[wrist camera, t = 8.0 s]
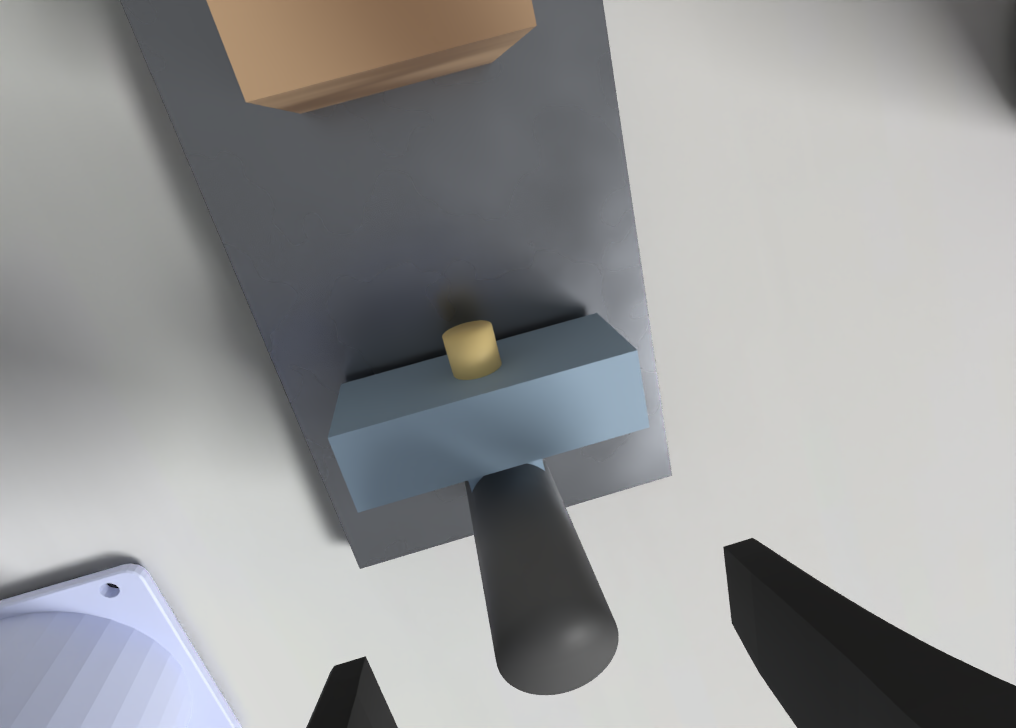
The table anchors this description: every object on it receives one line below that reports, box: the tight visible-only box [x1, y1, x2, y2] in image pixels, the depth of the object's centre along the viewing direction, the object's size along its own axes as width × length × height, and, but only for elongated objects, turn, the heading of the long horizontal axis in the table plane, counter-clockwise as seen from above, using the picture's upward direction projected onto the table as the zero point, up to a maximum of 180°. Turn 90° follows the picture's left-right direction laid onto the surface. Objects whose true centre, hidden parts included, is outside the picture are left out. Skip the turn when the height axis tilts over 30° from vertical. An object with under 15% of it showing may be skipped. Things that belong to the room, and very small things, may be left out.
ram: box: [328, 313, 649, 695], centre depth 14 cm, size 6×7×6 cm
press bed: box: [120, 0, 672, 569], centre depth 14 cm, size 20×10×4 cm, turn 13°
